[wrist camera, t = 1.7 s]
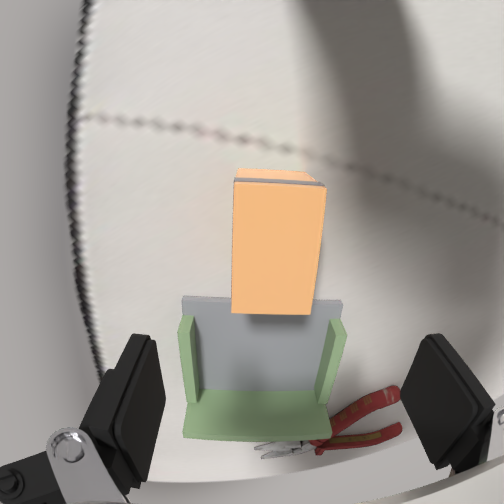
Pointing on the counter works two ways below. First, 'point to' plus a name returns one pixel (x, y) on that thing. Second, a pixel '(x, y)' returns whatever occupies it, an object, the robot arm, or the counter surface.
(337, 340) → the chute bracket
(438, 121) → the counter surface
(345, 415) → the pliers
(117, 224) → the counter surface
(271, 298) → the chute block
